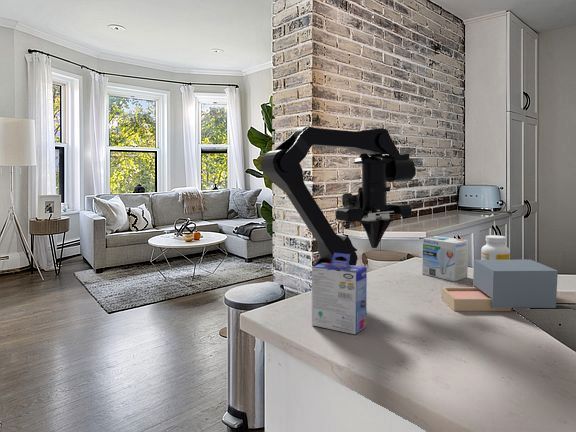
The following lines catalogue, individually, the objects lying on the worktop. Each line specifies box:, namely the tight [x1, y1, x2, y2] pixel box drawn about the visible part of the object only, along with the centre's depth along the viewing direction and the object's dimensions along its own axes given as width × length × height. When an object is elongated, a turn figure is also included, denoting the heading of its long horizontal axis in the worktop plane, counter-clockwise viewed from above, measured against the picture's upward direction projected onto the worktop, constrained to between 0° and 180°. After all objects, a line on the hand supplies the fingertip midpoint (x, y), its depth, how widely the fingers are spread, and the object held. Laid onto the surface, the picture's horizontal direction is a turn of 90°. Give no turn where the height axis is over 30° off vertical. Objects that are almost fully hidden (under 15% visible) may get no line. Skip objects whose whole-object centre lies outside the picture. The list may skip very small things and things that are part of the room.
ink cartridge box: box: [311, 253, 368, 335], centre depth 81 cm, size 10×6×14 cm, turn 57°
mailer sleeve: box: [472, 258, 559, 309], centre depth 92 cm, size 13×11×8 cm
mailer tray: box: [440, 286, 512, 312], centre depth 93 cm, size 12×9×3 cm
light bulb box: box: [421, 235, 469, 282], centre depth 117 cm, size 11×7×11 cm, turn 37°
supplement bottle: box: [480, 234, 511, 260], centre depth 107 cm, size 7×7×13 cm
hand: (374, 247), depth 99 cm, fingers closed
